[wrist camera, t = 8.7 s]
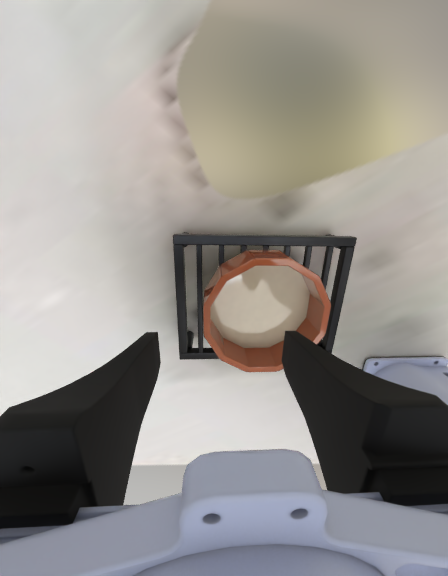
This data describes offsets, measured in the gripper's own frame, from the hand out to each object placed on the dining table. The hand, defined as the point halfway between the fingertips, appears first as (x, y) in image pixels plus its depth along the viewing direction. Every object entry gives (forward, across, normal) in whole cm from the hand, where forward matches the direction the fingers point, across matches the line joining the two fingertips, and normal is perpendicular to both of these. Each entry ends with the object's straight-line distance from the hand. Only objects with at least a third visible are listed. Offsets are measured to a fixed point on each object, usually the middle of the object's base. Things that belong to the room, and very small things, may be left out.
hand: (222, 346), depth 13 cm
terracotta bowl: (+6, -3, 0) cm, 7 cm away
